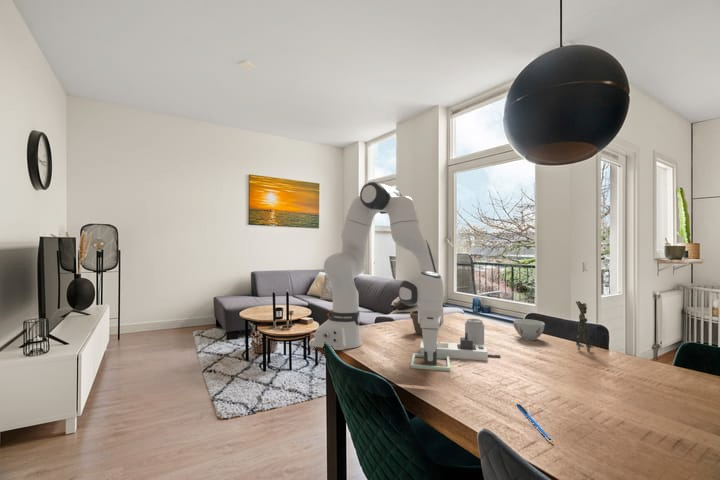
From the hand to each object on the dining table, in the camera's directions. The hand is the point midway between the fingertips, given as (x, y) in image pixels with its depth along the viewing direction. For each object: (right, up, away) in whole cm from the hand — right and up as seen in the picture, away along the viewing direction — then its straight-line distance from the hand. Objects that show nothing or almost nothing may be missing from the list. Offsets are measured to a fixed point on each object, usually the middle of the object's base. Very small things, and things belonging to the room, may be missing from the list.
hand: (430, 357), depth 125 cm
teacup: (+51, -4, +37) cm, 63 cm away
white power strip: (+13, -3, +10) cm, 16 cm away
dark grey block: (0, -2, 0) cm, 2 cm away
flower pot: (+5, -4, +45) cm, 45 cm away
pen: (+17, -3, -40) cm, 43 cm away
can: (+22, -3, +20) cm, 30 cm away
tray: (0, -3, 0) cm, 3 cm away
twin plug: (+15, -2, +9) cm, 18 cm away
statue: (+65, -4, +17) cm, 68 cm away
